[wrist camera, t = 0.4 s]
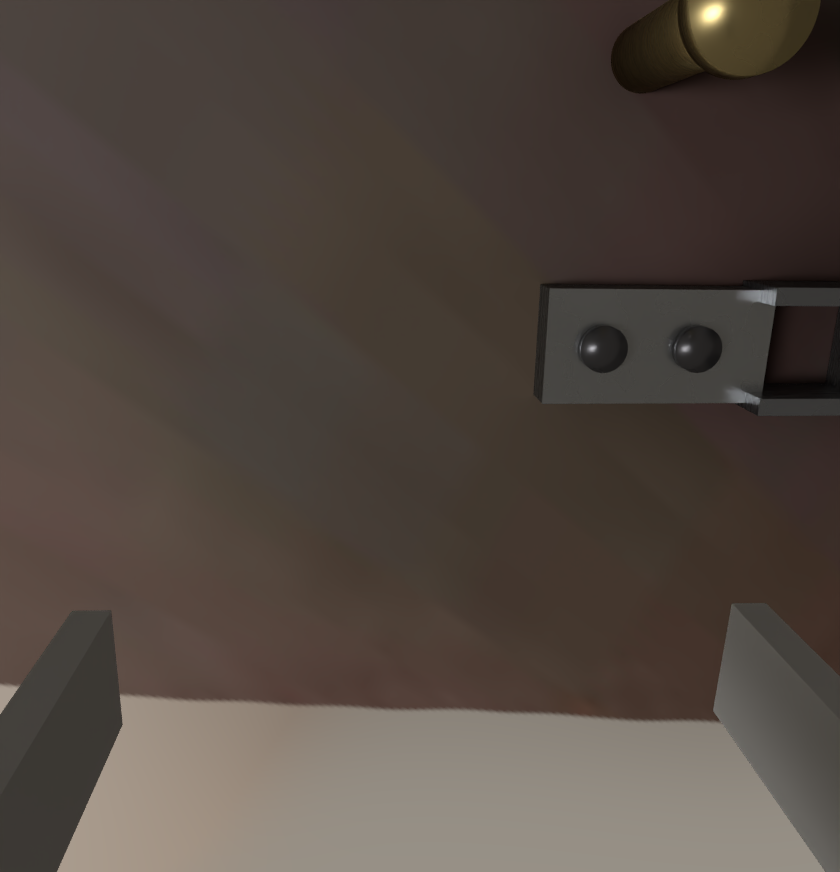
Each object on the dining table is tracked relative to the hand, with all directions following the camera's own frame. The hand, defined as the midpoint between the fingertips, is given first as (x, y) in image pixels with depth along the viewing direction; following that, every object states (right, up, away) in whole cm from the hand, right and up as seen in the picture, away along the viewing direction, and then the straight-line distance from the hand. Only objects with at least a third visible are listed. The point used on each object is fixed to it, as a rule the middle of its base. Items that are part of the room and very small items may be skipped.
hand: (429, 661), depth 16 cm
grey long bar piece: (+20, +10, +26) cm, 35 cm away
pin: (+11, +23, +21) cm, 33 cm away
